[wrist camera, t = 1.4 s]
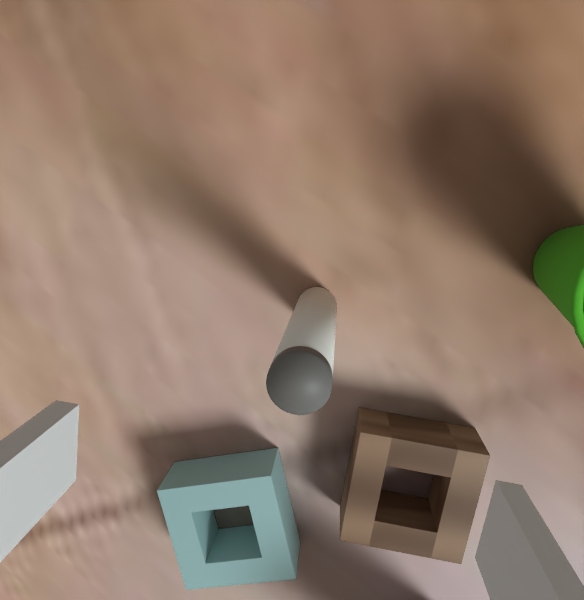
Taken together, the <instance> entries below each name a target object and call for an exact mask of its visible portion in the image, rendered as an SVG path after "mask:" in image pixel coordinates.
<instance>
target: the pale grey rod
mask: <svg viewBox="0 0 584 600" xmlns="http://www.w3.org/2000/svg"><path fill="white" fill-rule="evenodd" d="M336 312H337V303H336V300H335V298H334V296H333V295H332V293H331V292H329V291H328V290H326V289H324V288H321V287H312V288H309V289H307V290H305V291H304V292H303V293H302V294H301V295H300V297H299V299H298V301H297V304H296V306H295V309H294V311H293V313H292V316H291V318H290V321H289V323H288V326H287V328H286V330H285V333H284V335H283V338H282V340H281V342H280V345H279V347H278V350H277V352H276V355H275V357H274V359H273V362H272V364H271V367H270V369H269V372H268V374H267V379H266V386H267V391H268V394H269V396H270V398H271V400H272V401H273V402H274V403H275V405H277V406H278V407H279V408H280V409H282V410H284V411H285V412H288V413H291V414H296V415H305V414H310V413H313V412H315V411H317V410H319V409H320V408H321V407H323V406H324V405H325V403H326V402H327V401H328V399H329V397H330V395H331V391H332V379H333V362H334V346H335V329H336Z"/></svg>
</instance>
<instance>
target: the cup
mask: <svg viewBox="0 0 584 600" xmlns="http://www.w3.org/2000/svg"><path fill="white" fill-rule="evenodd" d="M533 274H534V278H535V281H536V283H537V285H538V287H539V288H540V289H541V290H542V292H543V293H544V294H545V295H546V296H547V297H548V298H549V300H550V301H551V302H552V303H553V304H554V305H555V306H556V308H557V309H558V310H559V311H560V312H561V313H562V314H563V316H564V317H565V318H566V319H567V320H568V321H569V322H570V324H571V325H572V326H573V327H574V329H575V333H576V335H577V337H578V339H579V340H580V342H581V344H582V346H583V348H584V225H579V226H573V227H568V228H564V229H561V230H559V231H556V232H555V233H553V234H552V235H550V236H549V237H548V238H546V240H545V241H544V242H543V243H542V244H541V245H540V247H539V249H538V250H537V252H536V254H535V258H534V261H533Z"/></svg>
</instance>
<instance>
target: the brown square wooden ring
mask: <svg viewBox="0 0 584 600" xmlns="http://www.w3.org/2000/svg"><path fill="white" fill-rule="evenodd" d="M489 458H490V455H489V453H488V451H487V449H486V447H485V445H484V444H483V442H482V440H481V438H480V436H479V434H478V433H477V431H476V429H475V428H472V427H467V426H461V425H455V424H450V423H444V422H438V421H433V420H427V419H421V418H416V417H410V416H404V415H399V414H393V413H387V412H382V411H376V410H370V409H365V408H359V410H358V415H357V421H356V426H355V431H354V436H353V442H352V447H351V452H350V457H349V463H348V468H347V473H346V478H345V484H344V489H343V494H342V499H341V505H340V540H341V541H346V542H351V543H356V544H361V545H366V546H371V547H376V548H381V549H387V550H392V551H397V552H402V553H407V554H412V555H417V556H422V557H427V558H432V559H438V560H443V561H448V562H453V563H458V564H461V563H462V559H463V555H464V552H465V548H466V544H467V540H468V537H469V533H470V529H471V525H472V522H473V518H474V514H475V510H476V507H477V503H478V499H479V496H480V492H481V488H482V484H483V481H484V477H485V473H486V469H487V466H488V462H489ZM386 466H391V467H396V468H402V469H407V470H412V471H418V472H423V473H429V474H434V476H433V481H432V485H431V489H430V493H429V497H428V499H426V498H421V497H416V496H410V495H405V494H400V493H394V492H389V491H384V490H381V487H382V482H383V478H384V473H385V468H386Z"/></svg>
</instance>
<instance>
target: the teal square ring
mask: <svg viewBox="0 0 584 600" xmlns="http://www.w3.org/2000/svg"><path fill="white" fill-rule="evenodd" d="M157 493H158V497H159V500H160V503H161V507H162V510H163V514H164V517H165V520H166V524H167V527H168V530H169V534H170V537H171V541H172V544H173V547H174V551H175V554H176V558H177V561H178V564H179V568H180V571H181V574H182V578H183V581H184V585H185V588H186V590H190V589H200V588H210V587H221V586H231V585H241V584H252V583H262V582H272V581H283V580H293V579H296V574H297V566H298V557H299V549H300V539H299V535H298V531H297V526H296V522H295V518H294V513H293V509H292V505H291V501H290V496H289V492H288V488H287V484H286V479H285V475H284V471H283V467H282V462H281V458H280V454H279V449H278V448H272V449H265V450H258V451H251V452H243V453H236V454H229V455H222V456H214V457H207V458H200V459H193V460H185V461H178V462H174V464H173V465H172V467H171V468H170V470H169V472H168V473H167V475H166V477H165V478H164V480H163V481H162V483H161V485H160V486H159V488H158V489H157ZM241 506H249V508H250V512H251V516H252V520H253V524H254V525H249V526H240V527H231V528H222V529H218V526H217V522H216V518H215V515H214V511H213V510H216V509H224V508H233V507H241Z"/></svg>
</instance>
